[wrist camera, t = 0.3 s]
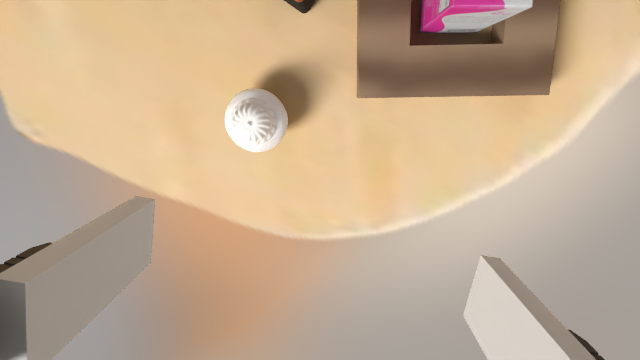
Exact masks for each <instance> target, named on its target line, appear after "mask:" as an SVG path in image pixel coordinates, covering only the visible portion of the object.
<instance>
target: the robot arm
mask: <svg viewBox="0 0 640 360" xmlns="http://www.w3.org/2000/svg"><path fill="white" fill-rule="evenodd" d="M154 207H155V199H150V198H143V197H138V196H135V197H134V198H132V199H130V200H128V201H127V202H125V203H123V204H121V205H119V206H118V207H116V208H114V209H112V210H111V211H109V212H107V213H105V214H104V215H102V216H100V217H99V218H97V219H95V220H93V221H92V222H90V223H88V224H86V225H84V226H83V227H81V228H79V229H77V230H75V231H74V232H72V233H70V234H68V235H67V236H65V237H63V238H61V239H60V240H58V241H56V242H54V243H46V244H43V245H39V246H36V247H33V248H30V249H28V250H26V251H24V252H22V253H21V254H19V255H17V256H16V258H11V259H10V260H8V261H6V262H4V264H0V360H52V359H53V357H55V356H56V355H57V354H58V353H59V352H60V351H61V349H63V347H65V346H66V345H67V344H68V343H69V342H70V341H71V340H72V339H73V338H74V337H75V336H76V335H77V334H78V333H79V332H80V331H81V330H82V329H83V328H84V327H85V326H86V325H87V324H88V323H89V322H90V321H91V320H92V319H93V318H94V317H96V316H97V314H99V313H100V312H101V311H102V310H103V309H104V308H105V307H106V306H107V305H108V304H109V303H110V302H111V301H112V300H113V299H114V298H115V297H116V296H117V295H118V294H119V293H120V292H121V291H122V290H123V289H124V288H125V287H126V286H127V285H128V284H129V283H130V282H131V281H132V280H133V279H134V278H135V277H136V276H137V275H138V274H140V273H141V272H142V270H144V269H145V267H147V266H148V265H149V264H150V263H151V253H152V237H153V223H154ZM463 316H464V318H465V320H466V321H467V323H468V325H469V327H470V328H471V330H472V332H473V334H474V336H475V337H476V339H477V341H478V343H479V345H480V346H481V348H482V350H483V352H484V354H485V355H486V357H487V359H488V360H604V359H603V358H602V357H601V356H599V355H598V353H597V352H596V351H595V349H594V348H593V347H592V346H590V344H589V343H588V342H586V341H585V340H584V339H582V338H581V337H580V336H578V335H577V334H575V333H573V332H572V331H571V330H568V329H566V327H565V326H564V325H563V324H562V323H561V322H560V321H559V320H558V319H557V318H556V317H555V316H554V315H553V314H552V313H551V312H550V311H549V310H548V309H547V307H546V306H545V305H544V304H543V303H542V302H541V301H540V300H539V299H538V298H537V297H536V296H535V295H534V294H533V293H532V292H531V291H530V290H529V289H528V288H527V287H526V285H525V284H524V283H523V282H522V281H521V280H520V279H519V278H518V277H517V276H516V275H515V274H514V273H513V272H512V271H511V270H510V269H509V268H508V267H507V265H505V263H504V262H503V261H502V260H501V259H500V258H494V257H488V256H483V255H481V257H480V260H479V264H478V267H477V270H476V274H475V277H474V280H473V284H472V287H471V291H470V294H469V297H468V301H467V304H466V308H465V311H464V315H463Z"/></svg>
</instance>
